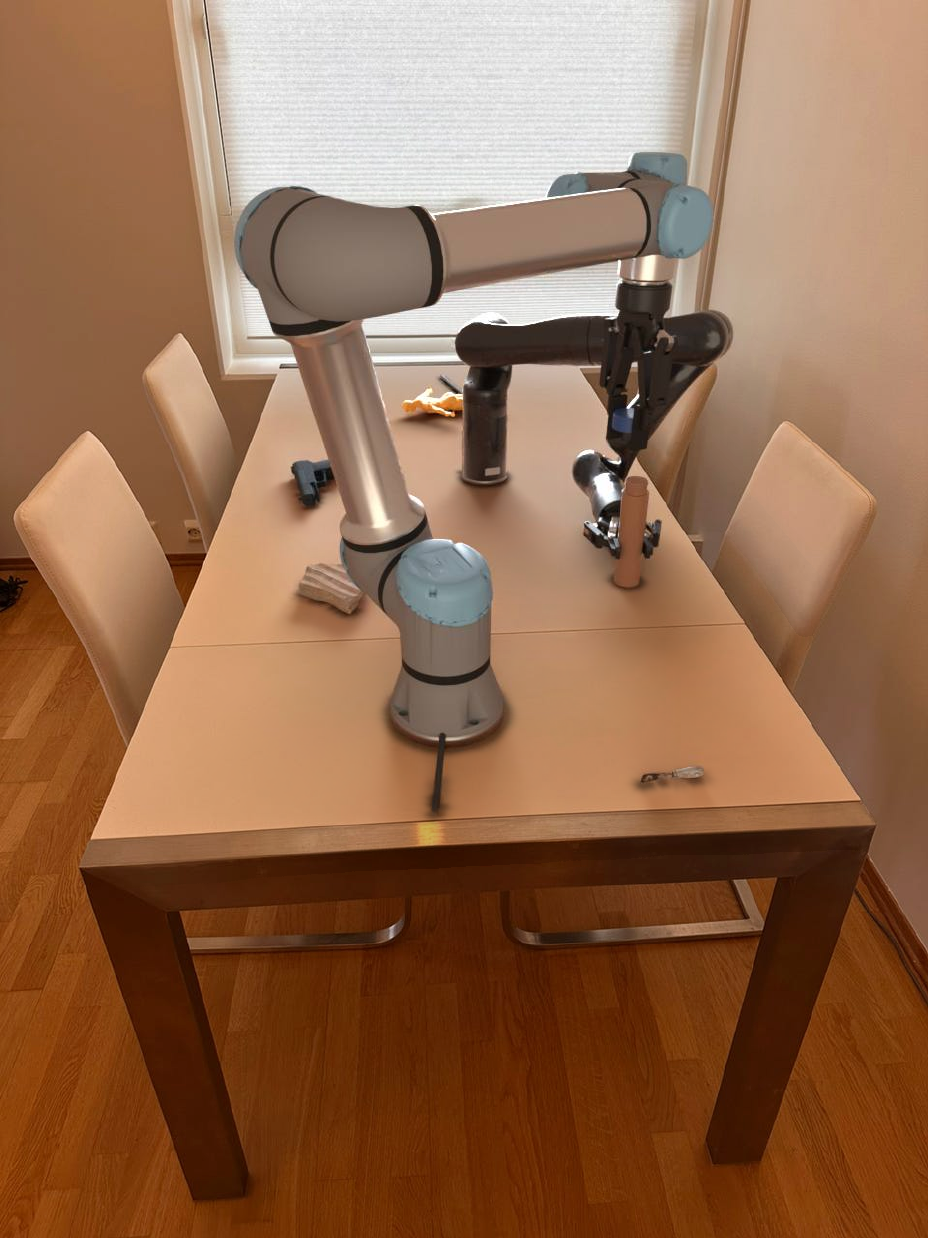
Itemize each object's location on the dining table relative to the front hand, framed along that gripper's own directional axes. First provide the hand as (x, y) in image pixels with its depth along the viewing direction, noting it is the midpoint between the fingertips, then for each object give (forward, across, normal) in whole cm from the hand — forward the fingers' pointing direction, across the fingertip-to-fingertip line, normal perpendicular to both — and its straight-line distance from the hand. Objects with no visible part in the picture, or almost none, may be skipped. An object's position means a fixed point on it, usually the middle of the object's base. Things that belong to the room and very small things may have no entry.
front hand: (626, 443), depth 134 cm
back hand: (+20, 0, -4) cm, 20 cm away
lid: (-4, 0, 0) cm, 4 cm away
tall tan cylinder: (+26, +2, -6) cm, 27 cm away
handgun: (+27, +65, +23) cm, 74 cm away
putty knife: (+27, -39, +22) cm, 52 cm away
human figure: (+26, +93, -24) cm, 100 cm away
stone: (+27, +24, +38) cm, 53 cm away
